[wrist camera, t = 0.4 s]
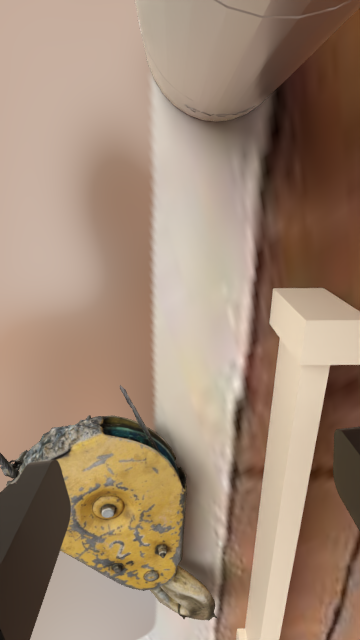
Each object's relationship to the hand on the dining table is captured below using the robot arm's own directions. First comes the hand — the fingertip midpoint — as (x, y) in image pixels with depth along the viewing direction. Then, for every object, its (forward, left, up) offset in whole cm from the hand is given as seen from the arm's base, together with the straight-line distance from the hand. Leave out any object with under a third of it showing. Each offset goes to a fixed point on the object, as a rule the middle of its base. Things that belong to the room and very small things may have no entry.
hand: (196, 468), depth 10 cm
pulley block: (+24, -5, -18) cm, 30 cm away
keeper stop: (+24, +9, -18) cm, 31 cm away
